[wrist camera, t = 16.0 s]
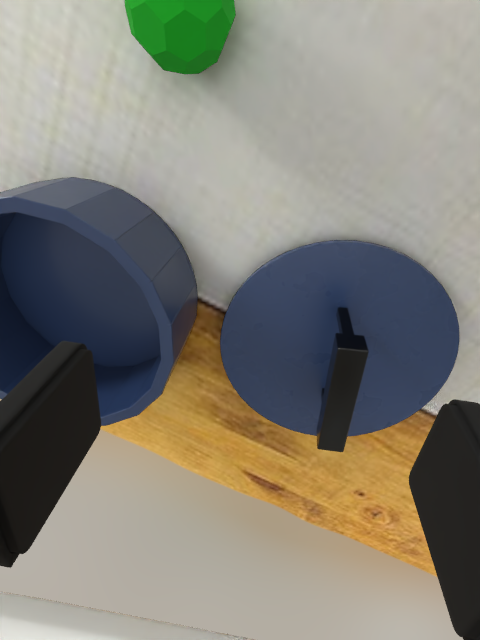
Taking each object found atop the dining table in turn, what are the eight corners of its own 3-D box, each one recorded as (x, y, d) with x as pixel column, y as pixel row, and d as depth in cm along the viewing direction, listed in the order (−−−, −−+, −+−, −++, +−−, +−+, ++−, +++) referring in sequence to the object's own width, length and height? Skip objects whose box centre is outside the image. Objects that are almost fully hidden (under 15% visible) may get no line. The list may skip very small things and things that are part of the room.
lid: (490, 248, 23) (552, 292, 17) (416, 438, 31) (442, 510, 26) (224, 227, 25) (203, 262, 19) (221, 414, 33) (205, 476, 27)
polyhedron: (260, 19, 19) (250, -5, 15) (197, 98, 21) (172, 96, 17) (188, -74, 18) (155, -128, 14) (128, 20, 20) (84, -2, 16)
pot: (195, 184, 23) (164, 207, 18) (199, 381, 31) (178, 440, 26) (-34, 168, 25) (-128, 185, 19) (25, 361, 33) (-30, 412, 27)
